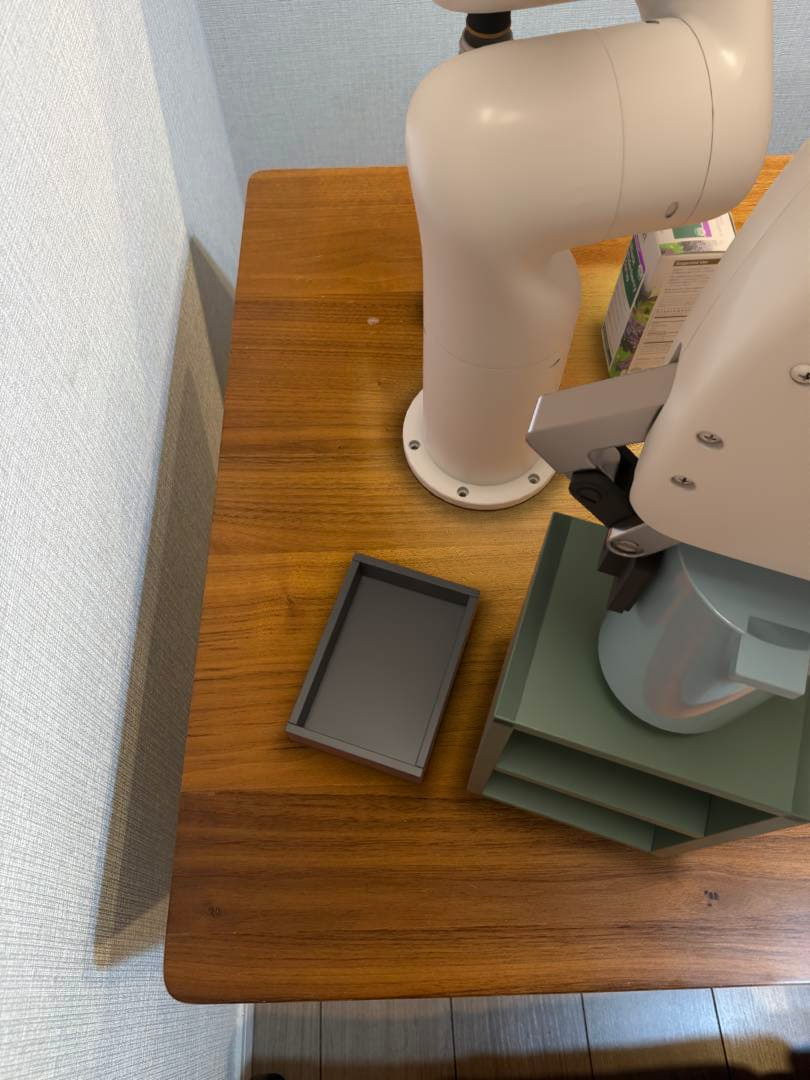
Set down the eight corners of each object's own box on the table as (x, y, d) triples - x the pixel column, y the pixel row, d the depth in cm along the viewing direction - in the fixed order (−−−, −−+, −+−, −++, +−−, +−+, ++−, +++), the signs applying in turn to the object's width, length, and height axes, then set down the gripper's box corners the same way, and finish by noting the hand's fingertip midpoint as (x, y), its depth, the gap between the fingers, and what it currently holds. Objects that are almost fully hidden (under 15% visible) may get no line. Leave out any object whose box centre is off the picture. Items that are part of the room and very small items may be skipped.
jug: (629, 512, 35) (713, 357, 25) (779, 555, 35) (927, 412, 25) (574, 727, 32) (648, 646, 22) (741, 782, 31) (897, 723, 21)
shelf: (507, 650, 58) (553, 510, 38) (691, 709, 56) (844, 593, 36) (465, 790, 54) (492, 716, 34) (662, 858, 52) (815, 822, 32)
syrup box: (598, 329, 69) (640, 191, 56) (667, 324, 69) (726, 185, 56) (610, 385, 67) (657, 254, 54) (682, 380, 67) (746, 249, 54)
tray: (358, 568, 61) (355, 551, 58) (478, 605, 59) (480, 590, 56) (291, 740, 55) (284, 731, 53) (420, 785, 54) (420, 778, 51)
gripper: (1856, 113, 11) (1005, 580, 28) (620, -107, 14) (510, 442, 30) (2111, 601, 8) (995, 800, 25) (496, 213, 11) (448, 627, 27)
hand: (731, 602), depth 27 cm, fingers closed on jug, 6 cm apart
